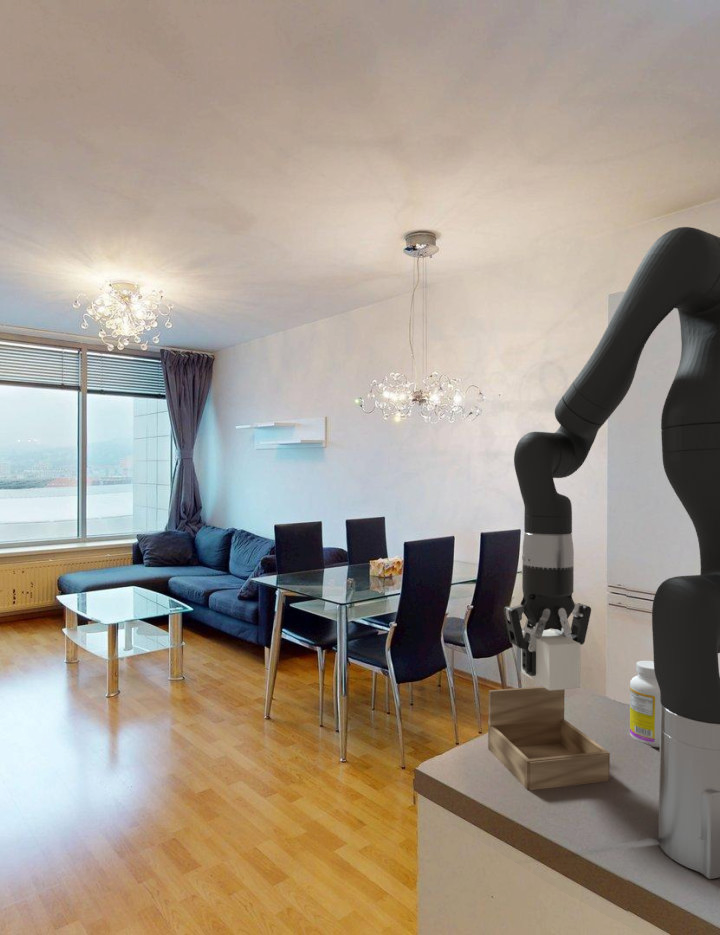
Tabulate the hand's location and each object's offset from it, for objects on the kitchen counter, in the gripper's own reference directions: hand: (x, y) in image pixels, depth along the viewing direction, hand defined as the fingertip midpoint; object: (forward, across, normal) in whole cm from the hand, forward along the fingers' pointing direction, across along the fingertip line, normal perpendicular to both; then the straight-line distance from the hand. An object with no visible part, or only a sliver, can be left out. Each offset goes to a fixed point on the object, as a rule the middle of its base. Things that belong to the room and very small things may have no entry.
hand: (547, 672), depth 95 cm
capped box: (+1, 0, 0) cm, 1 cm away
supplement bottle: (+15, +22, +5) cm, 27 cm away
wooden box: (+15, 0, 0) cm, 15 cm away
